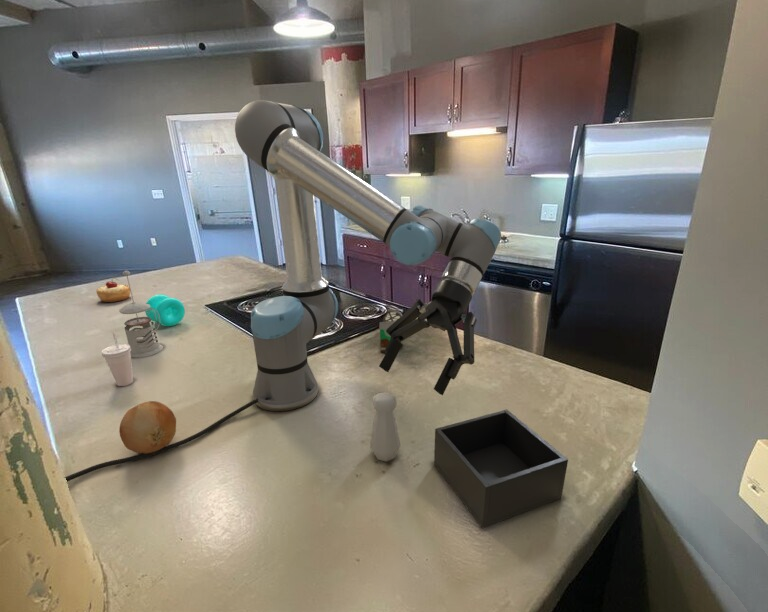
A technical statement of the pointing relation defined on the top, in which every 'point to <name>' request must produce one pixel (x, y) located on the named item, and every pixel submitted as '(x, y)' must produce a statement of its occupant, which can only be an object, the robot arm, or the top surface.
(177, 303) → the turquoise short spool shape
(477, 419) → the basket
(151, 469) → the top surface
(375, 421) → the salt shaker
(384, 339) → the food container
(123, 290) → the pastry
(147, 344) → the french press
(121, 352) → the smoothie
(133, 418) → the onion
